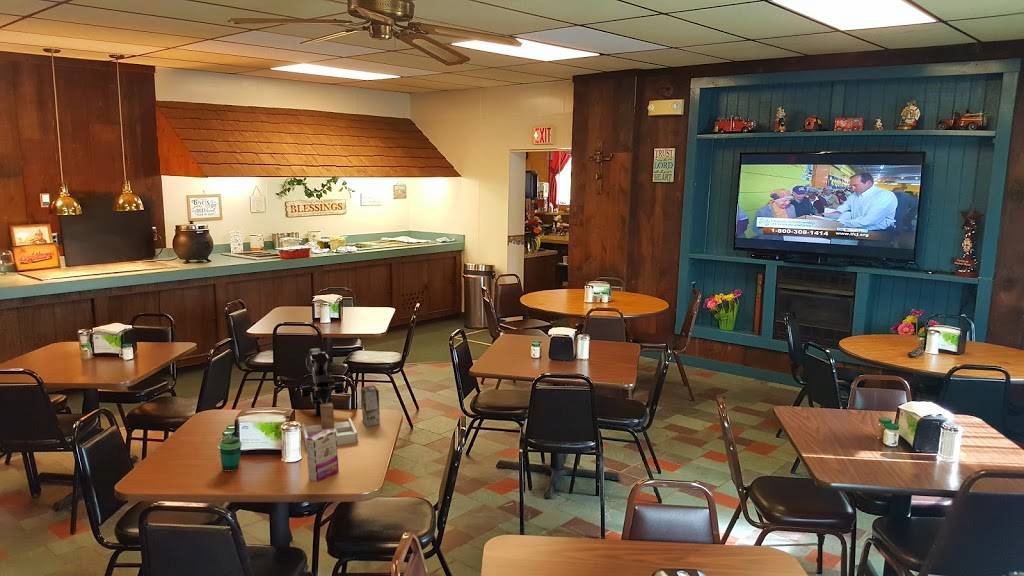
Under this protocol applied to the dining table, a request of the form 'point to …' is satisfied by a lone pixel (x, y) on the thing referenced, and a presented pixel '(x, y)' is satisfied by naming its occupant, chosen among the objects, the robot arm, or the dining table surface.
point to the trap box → (343, 432)
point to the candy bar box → (322, 455)
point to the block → (327, 416)
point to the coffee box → (370, 405)
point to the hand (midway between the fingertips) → (324, 406)
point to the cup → (230, 453)
